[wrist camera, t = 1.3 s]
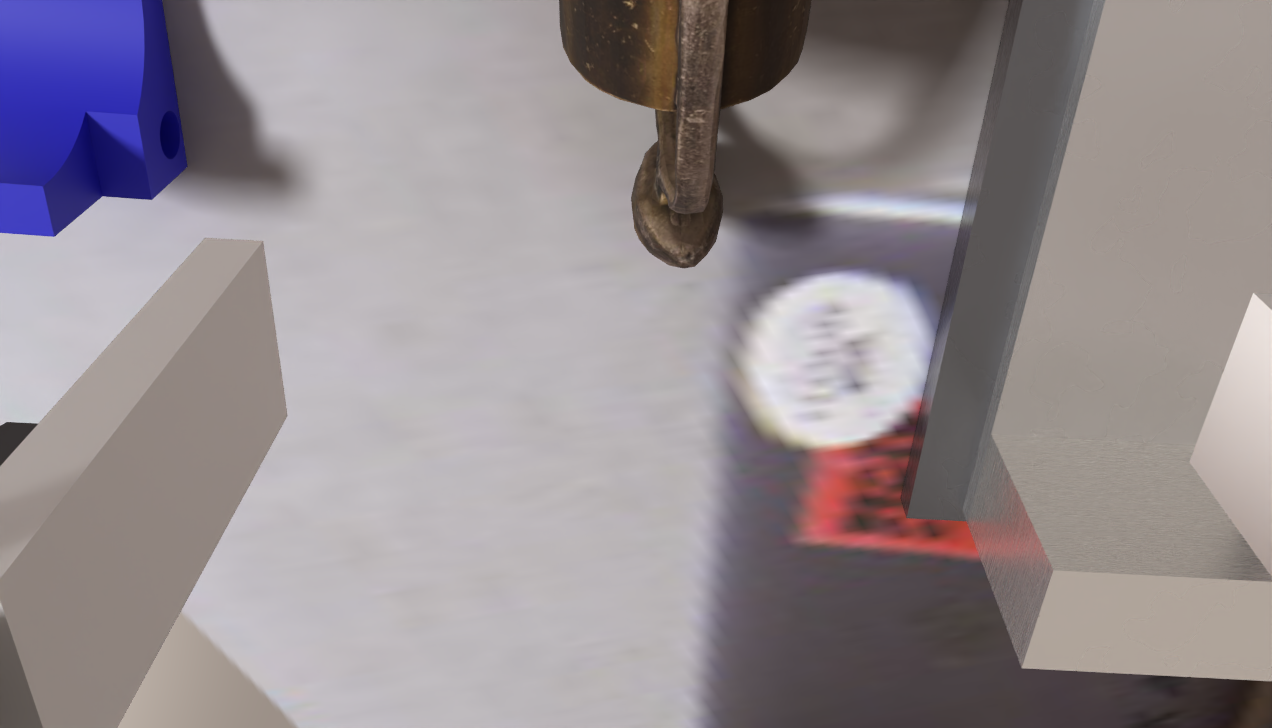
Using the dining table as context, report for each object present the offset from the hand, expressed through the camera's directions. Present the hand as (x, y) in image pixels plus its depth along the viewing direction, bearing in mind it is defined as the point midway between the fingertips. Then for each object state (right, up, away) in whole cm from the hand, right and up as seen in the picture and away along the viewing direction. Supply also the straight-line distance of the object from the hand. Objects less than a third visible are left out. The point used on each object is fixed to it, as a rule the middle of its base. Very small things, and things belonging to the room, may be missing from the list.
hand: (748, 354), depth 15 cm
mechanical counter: (+1, +11, +18) cm, 21 cm away
